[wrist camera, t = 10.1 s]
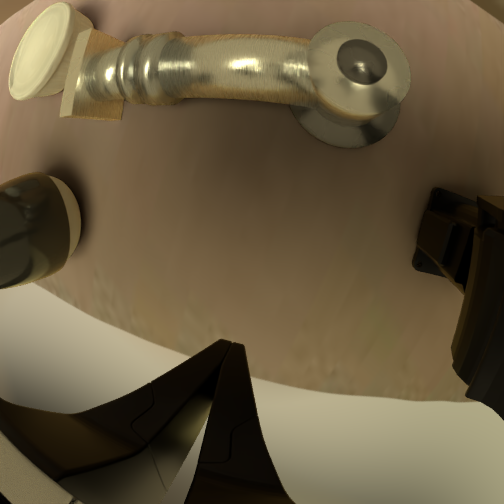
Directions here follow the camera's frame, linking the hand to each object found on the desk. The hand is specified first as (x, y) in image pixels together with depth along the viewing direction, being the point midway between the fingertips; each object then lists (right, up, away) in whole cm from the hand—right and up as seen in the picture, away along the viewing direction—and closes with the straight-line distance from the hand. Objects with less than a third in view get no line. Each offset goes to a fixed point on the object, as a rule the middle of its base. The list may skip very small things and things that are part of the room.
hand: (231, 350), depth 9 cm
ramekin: (-19, +25, +9) cm, 33 cm away
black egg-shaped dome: (-19, +7, +15) cm, 25 cm away
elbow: (+2, +15, +7) cm, 17 cm away
